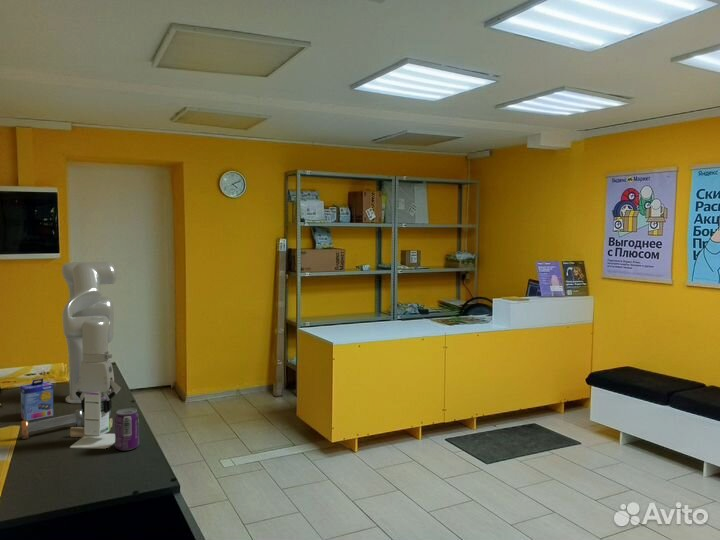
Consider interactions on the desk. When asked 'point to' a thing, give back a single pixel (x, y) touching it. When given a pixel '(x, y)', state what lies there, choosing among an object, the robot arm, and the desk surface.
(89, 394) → the syrup box
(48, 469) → the desk surface
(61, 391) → the desk surface
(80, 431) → the cradle
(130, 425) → the beverage can
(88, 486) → the desk surface
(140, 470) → the desk surface
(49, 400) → the ink cartridge box
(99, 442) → the mat
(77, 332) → the robot arm
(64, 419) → the lever
